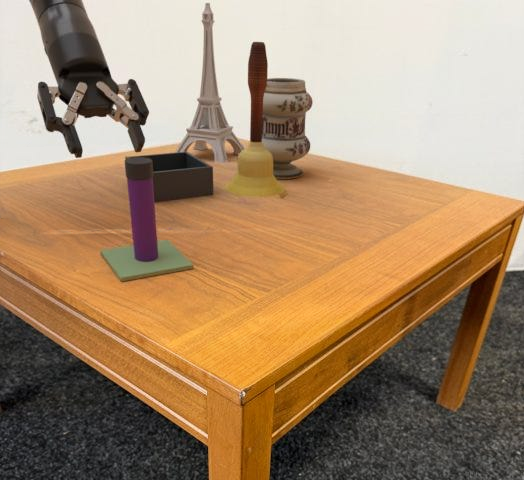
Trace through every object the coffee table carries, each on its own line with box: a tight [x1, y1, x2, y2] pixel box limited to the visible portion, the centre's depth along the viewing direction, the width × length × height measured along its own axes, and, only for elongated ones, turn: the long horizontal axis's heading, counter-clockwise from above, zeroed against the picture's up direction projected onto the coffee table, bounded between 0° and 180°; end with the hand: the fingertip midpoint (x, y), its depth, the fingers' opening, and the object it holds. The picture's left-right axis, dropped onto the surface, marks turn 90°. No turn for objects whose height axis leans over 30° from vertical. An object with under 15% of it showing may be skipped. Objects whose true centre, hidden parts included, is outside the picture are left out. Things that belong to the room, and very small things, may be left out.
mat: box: [99, 239, 194, 283], centre depth 76 cm, size 10×10×1 cm
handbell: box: [224, 41, 288, 199], centre depth 98 cm, size 12×12×25 cm
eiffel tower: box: [173, 2, 246, 163], centre depth 119 cm, size 13×13×30 cm
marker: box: [124, 157, 158, 262], centre depth 72 cm, size 3×3×13 cm
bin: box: [124, 151, 214, 203], centre depth 101 cm, size 12×12×6 cm
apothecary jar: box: [262, 77, 314, 180], centre depth 112 cm, size 12×12×18 cm
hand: (110, 151), depth 76 cm, fingers open, 8 cm apart
